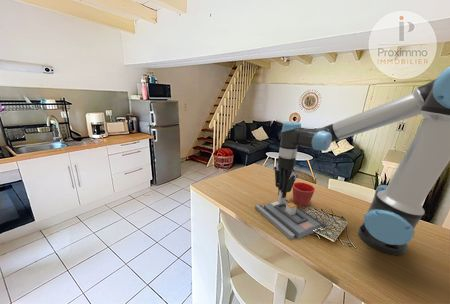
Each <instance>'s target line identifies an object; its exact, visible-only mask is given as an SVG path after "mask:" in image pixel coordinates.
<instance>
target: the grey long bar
mask: <svg viewBox="0 0 450 304" xmlns="http://www.w3.org/2000/svg"><path fill="white" fill-rule="evenodd" d="M254 208H255V210H256V211H257V212H259V213H260V214H261V215H262V216H263V217H264V218H265V219H266V220H268V221H269V222H270V224H272V225H274V226H275V228H277V229H278V230H279V231H280V232H281V233H282V234H283V235H285V236H286V237H287V238H288V239H289V240H294V239H297V238H296V236H297V235H296V234H295V233H294V232H293V231H291V230H290V229H289V228H288V227H286V226H285V225H284V224H283V223H282V222H280V221H279V220H278V219H277V218H275V217H274V216H273V215H272V214H271V213H269V212H268V211H267V210H266V209H264V206H262V205H261V204H255V205H254Z"/></svg>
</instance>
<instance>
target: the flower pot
mask: <svg viewBox="0 0 450 304" xmlns="http://www.w3.org/2000/svg"><path fill="white" fill-rule="evenodd" d="M314 192H315V187H314V186H313V185H311V184H309V183H306V182H303V181H302V182H301V181H299V182H294V184H293V187H292V200H293V203H294V204H295V205H297V206H300V207H307V206H309V204H310V202H311V200H312V198H313V196H314Z"/></svg>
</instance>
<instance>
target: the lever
mask: <svg viewBox="0 0 450 304" xmlns="http://www.w3.org/2000/svg"><path fill="white" fill-rule="evenodd" d="M290 202H291V203H287V204H286V210H285V212H287V213H288V214H289V215H291V216H292V215H295V213H296V207H298V205H297V204H295V203H294V202H292V201H290Z"/></svg>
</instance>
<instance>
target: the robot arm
mask: <svg viewBox="0 0 450 304" xmlns="http://www.w3.org/2000/svg"><path fill="white" fill-rule="evenodd" d="M420 115H422V117H423V120H422V122H421V124H420V126H419V127H418V129H417V131H416V133H415V135H414V137H413V138H412V140H411V142H410V144H409V146H408V148H407V149H406V150H405V154H404V155H403V157H402V159H401V160H400V163H399V164H398V166H397V168H396V170H395V172H394V174H393V175H392V177H391V179H390V180H389V183H388V185H386V184H380V185H378V186H377V187H376V189H375V190H374V191H375V193H374V196H373V199H372V201H371V204H370V206H369V208H368V210H367V212H366V213H365V215H364V217H363V219H364V220H363V222H362V223H361V224H360V225H359V227H358V231H357V233H358V236H359V237H360V239H361V240H362V241H363V242H364V243H365V244H367V245H368V246H370V247H371V248H373V249H374V250H377V251H378V252H381V253H385V254H388V255H391V256H402V255H405V253H406V252H407V250H408V247H409V246H408V243H410V242H411V241H412V239H413V238H414V236H415V231H414V230H415V228H416V227H417V225H418V224H419V222H420V220H422V217H423V216H424V215H425V209H424V208H423V206H422V204H423V203H424V201H425V199H426V198H427V196H428V195H429V193H430V192H431V190H432V189H433V187H434V185H435V184H436V182H437V181H438V179H439V177H440V176H441V175H442V173H443V171H444V170H445V168H446V167H447V165H448V164H449V162H450V66H449V67H447V68H446V69H444V70H443V71H442V72H441V73H440V74H439V75H438V76H437V77H436V78H435V79H434V80H431V81H429V82H428V83H425V84H423V85H420V86H418V87H415V89H414V90H413V91H412V92H410V93H408V94H406V95H403V96H401V97H399V98H396V99H392V100H391V101H388V102H385V103H383V104H379V105H378V106H375V107H372V108H370V109H367V110H365V111H362V112H359V113H357V114H354V115H351V116H349V117H347V118H344V119H341V120H339V121H336V122H334V123H331V124H328V125H325V126H323V127H319V128H316V129H312V128H311V129H310V128H303V127H302V124H301V122H298V121H284V122H283V123H282V127H281V131H280V132H281V133H280V135H281V136H280V143H279V149H278V150H279V151H278V159H277V164H278V165H276V166H273V169H274V178H275V180H274V182H275V183H274V184H275V187H276V188H277V189H278V192H277V195H278V198H277V201H278V203H279V204H281V203H284V200H285V199H286V198H287V193H290V192H291V191H292V190H293V184H294V183H296V182H295V181H296V179H298V178H299V177H298V174H295V169H294V167H295V166H296V160H297V158H296V157H297V153H298V149H299V148H298V147H302V148H307V149H311V150H315V151H320V152H321V151H323V152H326V151H328V149H329V148H330V146H331V143H334V142H337V141H340V140H343V139H347V138H349V137H353V136H356V135H359V134H362V133H363V134H364V133H367V132H368V131H373V130H375V129H378V128H381V127H384V126H385V127H386V126H388V125H391V124H394V123H398V122H400V121H404V120H407V119H410V118H413V117H417V116H420Z"/></svg>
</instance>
